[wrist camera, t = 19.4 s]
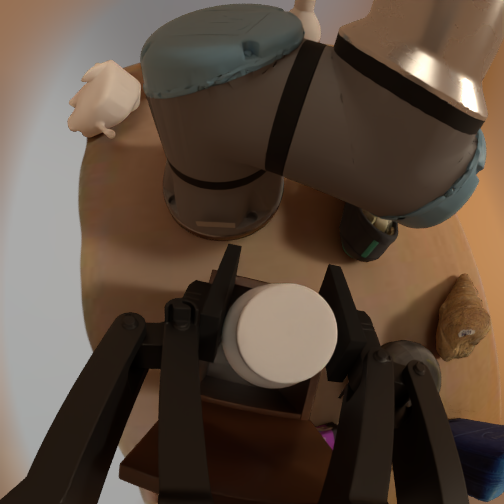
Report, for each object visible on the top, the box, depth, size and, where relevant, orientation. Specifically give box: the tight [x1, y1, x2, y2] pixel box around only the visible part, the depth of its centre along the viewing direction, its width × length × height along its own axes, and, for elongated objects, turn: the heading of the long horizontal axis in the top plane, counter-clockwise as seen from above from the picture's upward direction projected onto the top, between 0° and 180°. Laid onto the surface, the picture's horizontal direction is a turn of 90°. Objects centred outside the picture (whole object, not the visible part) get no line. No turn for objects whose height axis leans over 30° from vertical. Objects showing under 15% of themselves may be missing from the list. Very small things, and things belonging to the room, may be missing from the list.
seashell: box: [436, 274, 491, 362], centre depth 28 cm, size 14×8×8 cm
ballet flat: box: [339, 202, 398, 262], centre depth 33 cm, size 8×24×8 cm, turn 165°
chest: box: [199, 270, 321, 421], centre depth 24 cm, size 10×9×11 cm
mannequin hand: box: [68, 60, 141, 139], centre depth 34 cm, size 12×18×12 cm
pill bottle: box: [222, 283, 337, 388], centre depth 14 cm, size 5×5×9 cm
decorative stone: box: [381, 340, 441, 406], centre depth 24 cm, size 10×10×10 cm
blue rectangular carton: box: [448, 418, 504, 502], centre depth 16 cm, size 14×5×20 cm, turn 77°
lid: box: [119, 401, 333, 504], centre depth 11 cm, size 11×9×1 cm
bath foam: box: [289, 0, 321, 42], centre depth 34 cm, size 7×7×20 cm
